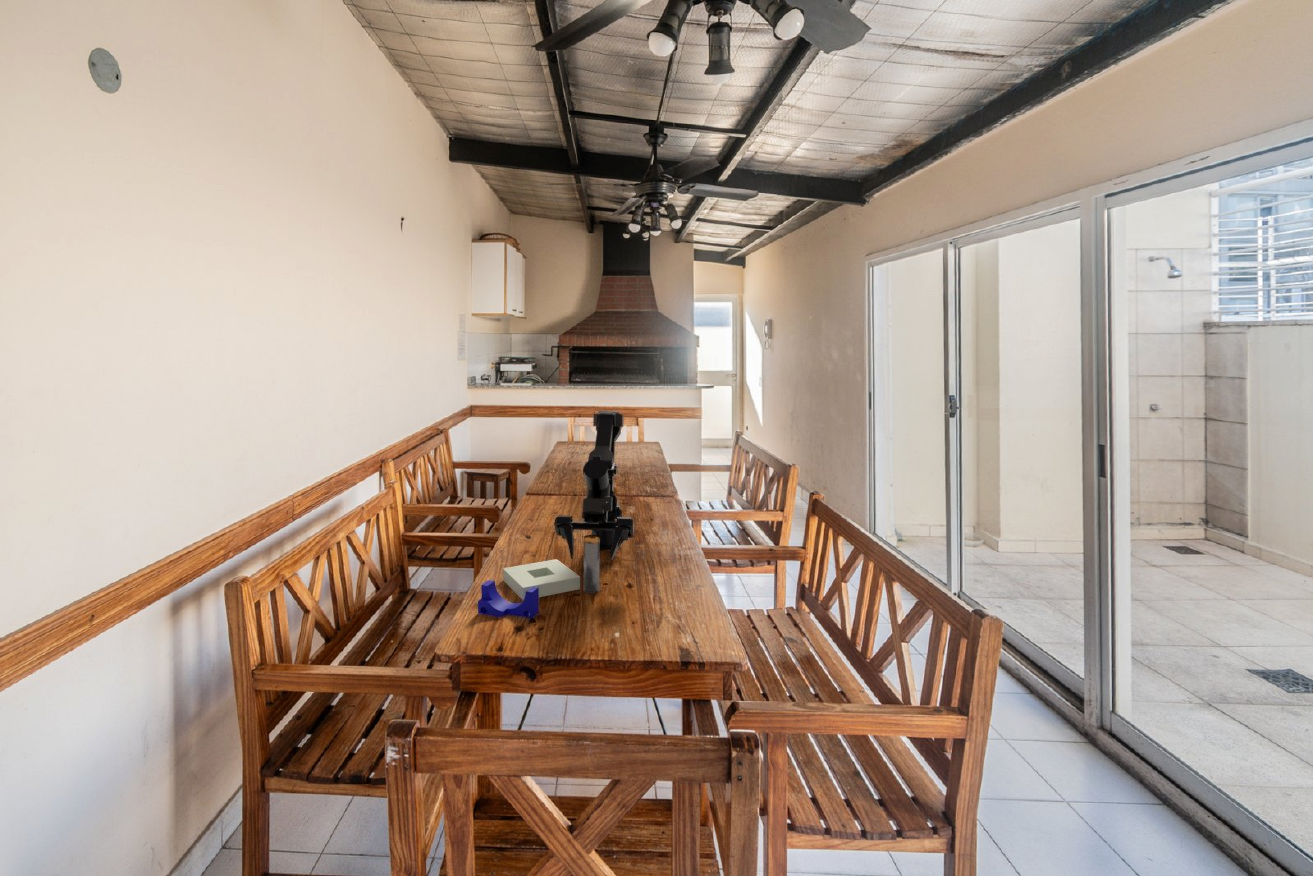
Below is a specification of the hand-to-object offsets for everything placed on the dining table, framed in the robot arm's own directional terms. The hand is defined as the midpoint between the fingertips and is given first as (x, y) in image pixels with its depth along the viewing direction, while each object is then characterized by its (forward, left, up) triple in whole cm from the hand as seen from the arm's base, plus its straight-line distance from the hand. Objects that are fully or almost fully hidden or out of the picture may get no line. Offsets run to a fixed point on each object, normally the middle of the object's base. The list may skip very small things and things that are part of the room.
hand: (591, 558), depth 148 cm
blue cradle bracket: (+21, +2, -8) cm, 22 cm away
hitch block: (+9, -9, -8) cm, 15 cm away
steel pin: (0, 0, -8) cm, 8 cm away
